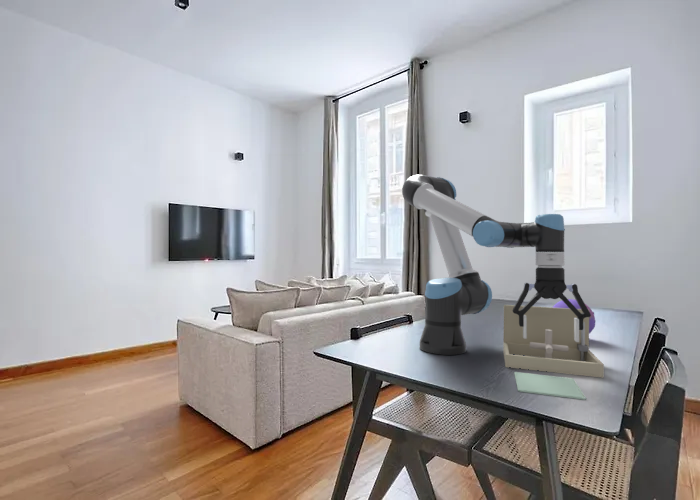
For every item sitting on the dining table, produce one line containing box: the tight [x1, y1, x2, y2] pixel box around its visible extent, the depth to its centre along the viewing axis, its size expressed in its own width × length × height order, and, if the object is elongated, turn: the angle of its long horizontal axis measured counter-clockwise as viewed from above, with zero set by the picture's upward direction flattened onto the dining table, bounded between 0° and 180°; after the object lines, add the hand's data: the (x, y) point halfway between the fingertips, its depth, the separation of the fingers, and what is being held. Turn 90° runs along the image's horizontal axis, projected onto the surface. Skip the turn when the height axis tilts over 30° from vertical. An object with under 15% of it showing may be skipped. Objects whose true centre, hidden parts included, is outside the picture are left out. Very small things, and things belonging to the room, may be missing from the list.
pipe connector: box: [530, 329, 568, 359], centre depth 113 cm, size 10×10×10 cm
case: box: [502, 304, 605, 379], centre depth 113 cm, size 24×17×16 cm
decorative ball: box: [552, 298, 596, 335], centre depth 145 cm, size 15×15×15 cm
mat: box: [513, 371, 587, 401], centre depth 95 cm, size 14×14×1 cm
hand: (550, 339), depth 112 cm, fingers open, 13 cm apart
